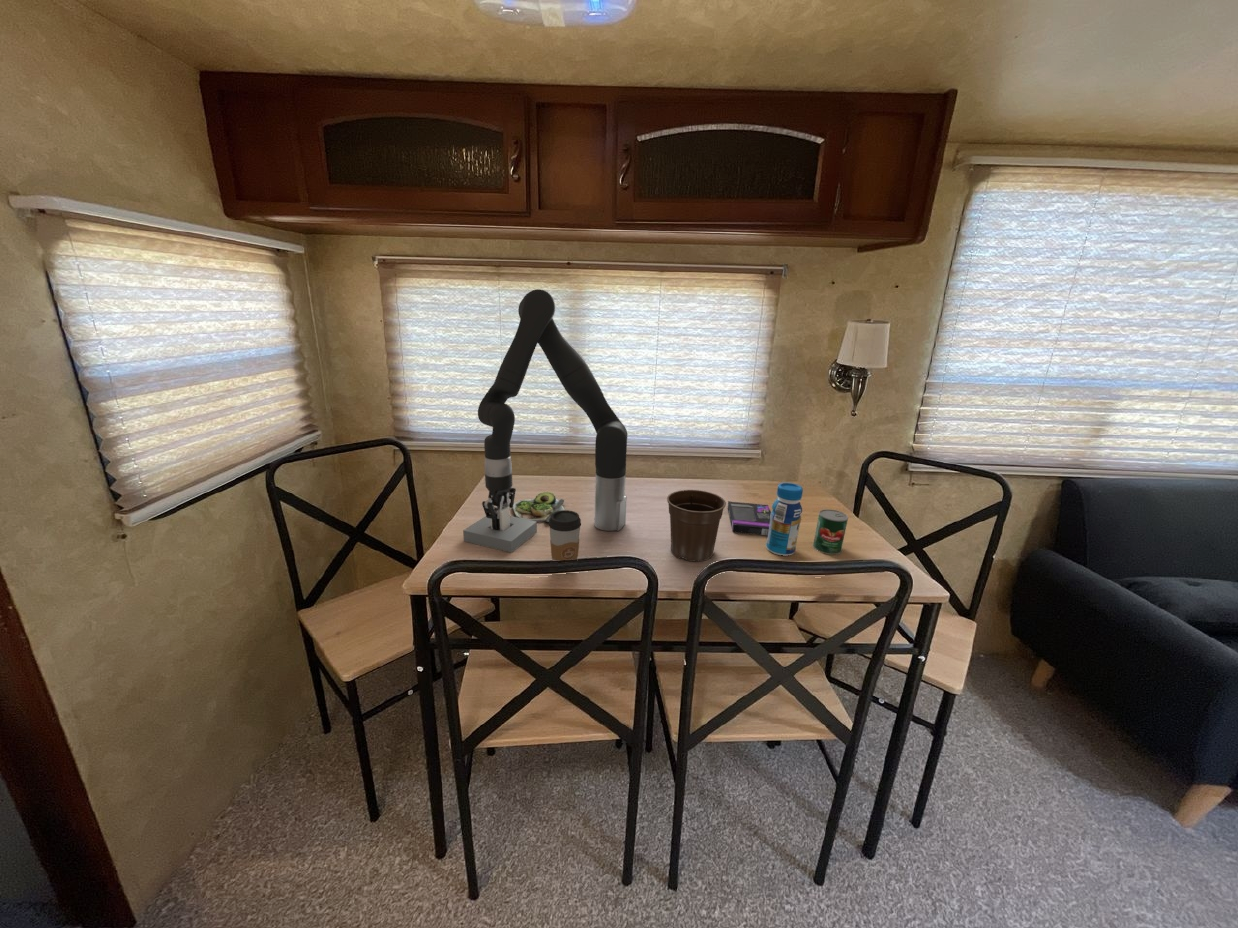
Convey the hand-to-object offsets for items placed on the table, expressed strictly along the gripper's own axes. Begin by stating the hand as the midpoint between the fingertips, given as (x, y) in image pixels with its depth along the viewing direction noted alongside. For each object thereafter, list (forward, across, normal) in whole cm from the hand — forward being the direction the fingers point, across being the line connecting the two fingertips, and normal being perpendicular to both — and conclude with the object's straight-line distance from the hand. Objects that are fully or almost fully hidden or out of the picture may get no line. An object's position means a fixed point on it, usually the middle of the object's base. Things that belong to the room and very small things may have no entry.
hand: (500, 526), depth 142 cm
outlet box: (+3, 0, 0) cm, 3 cm away
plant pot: (+4, +15, -54) cm, 56 cm away
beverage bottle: (+4, +27, -78) cm, 83 cm away
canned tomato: (+4, +34, -91) cm, 97 cm away
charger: (+1, 0, 0) cm, 1 cm away
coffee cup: (+4, -8, -25) cm, 26 cm away
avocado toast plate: (+4, +21, -1) cm, 21 cm away
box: (+4, +44, -68) cm, 81 cm away
